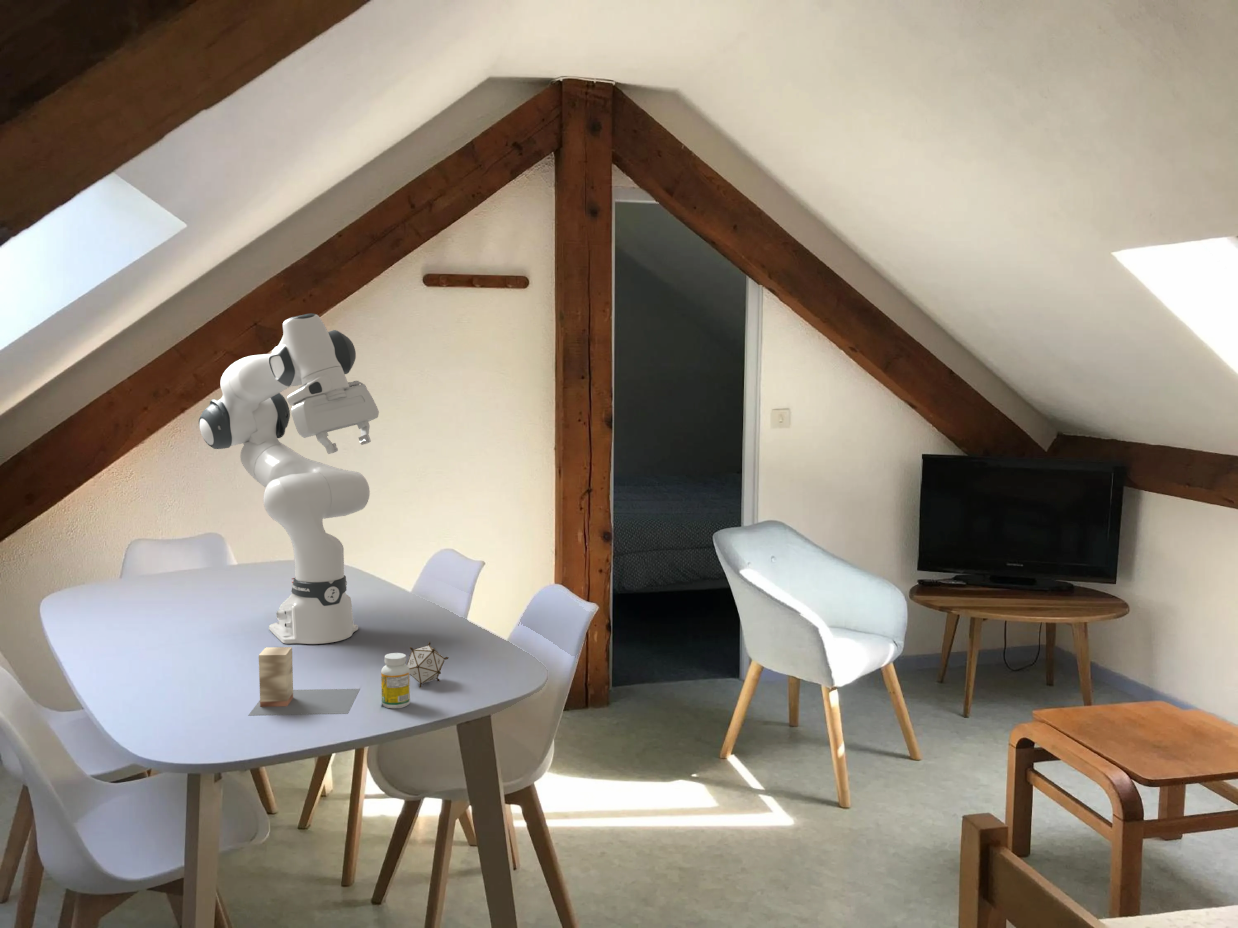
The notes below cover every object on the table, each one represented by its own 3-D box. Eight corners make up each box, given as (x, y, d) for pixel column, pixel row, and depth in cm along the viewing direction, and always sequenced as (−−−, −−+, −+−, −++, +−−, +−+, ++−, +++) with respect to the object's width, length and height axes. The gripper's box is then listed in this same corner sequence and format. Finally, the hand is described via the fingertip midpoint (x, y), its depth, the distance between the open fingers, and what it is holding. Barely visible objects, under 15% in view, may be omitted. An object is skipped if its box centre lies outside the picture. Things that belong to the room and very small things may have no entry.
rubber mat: (248, 718, 193) (248, 715, 192) (267, 693, 206) (267, 690, 206) (347, 716, 194) (347, 713, 194) (359, 691, 208) (359, 688, 208)
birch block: (260, 706, 197) (258, 655, 196) (266, 697, 202) (265, 647, 201) (287, 706, 197) (286, 654, 196) (293, 697, 202) (291, 647, 201)
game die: (424, 697, 216) (434, 651, 221) (450, 691, 211) (459, 644, 216) (389, 684, 211) (400, 637, 216) (415, 677, 205) (425, 630, 210)
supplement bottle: (406, 709, 198) (406, 660, 197) (378, 708, 198) (377, 659, 197) (412, 699, 204) (412, 651, 203) (385, 699, 204) (384, 651, 203)
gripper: (353, 383, 231) (375, 442, 231) (279, 399, 214) (304, 462, 214) (371, 374, 227) (394, 434, 228) (298, 389, 210) (322, 453, 211)
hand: (350, 448), depth 221 cm, fingers open, 8 cm apart
